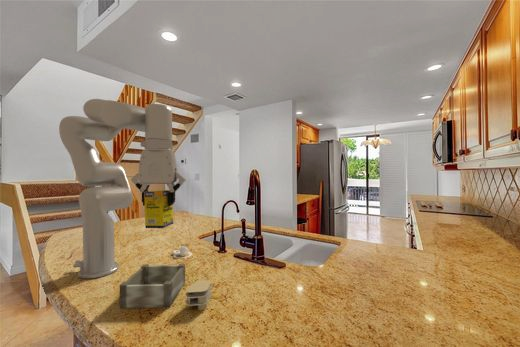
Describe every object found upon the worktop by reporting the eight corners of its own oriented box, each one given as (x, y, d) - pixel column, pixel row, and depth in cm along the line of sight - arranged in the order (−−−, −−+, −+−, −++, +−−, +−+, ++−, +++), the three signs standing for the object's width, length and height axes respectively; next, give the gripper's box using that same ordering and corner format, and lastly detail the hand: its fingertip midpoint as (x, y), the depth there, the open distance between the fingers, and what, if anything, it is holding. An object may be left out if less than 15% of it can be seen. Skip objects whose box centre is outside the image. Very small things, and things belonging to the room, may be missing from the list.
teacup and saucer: (170, 255, 102) (170, 246, 102) (187, 251, 107) (187, 242, 107) (177, 261, 95) (177, 251, 95) (195, 256, 101) (195, 247, 101)
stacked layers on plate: (192, 294, 69) (192, 276, 69) (220, 297, 68) (220, 278, 68) (175, 315, 59) (175, 294, 59) (207, 318, 58) (207, 297, 58)
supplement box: (163, 228, 66) (162, 191, 66) (144, 228, 67) (143, 191, 67) (174, 223, 72) (172, 189, 72) (156, 223, 73) (155, 189, 73)
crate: (119, 308, 62) (119, 285, 62) (143, 283, 75) (143, 264, 75) (170, 307, 62) (170, 284, 62) (185, 282, 76) (184, 263, 76)
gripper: (122, 144, 65) (122, 206, 65) (184, 145, 66) (184, 207, 66) (135, 147, 72) (135, 203, 73) (190, 148, 73) (190, 203, 74)
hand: (158, 204), depth 69 cm, fingers closed on supplement box, 6 cm apart
